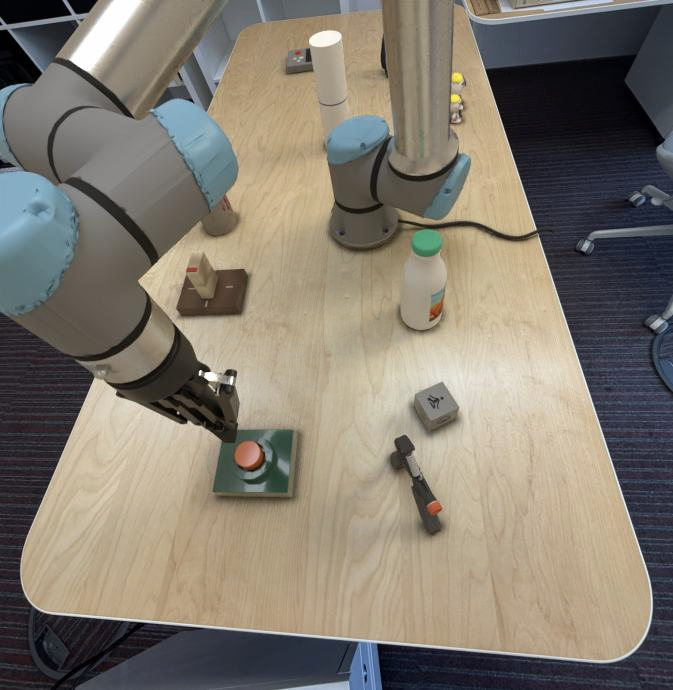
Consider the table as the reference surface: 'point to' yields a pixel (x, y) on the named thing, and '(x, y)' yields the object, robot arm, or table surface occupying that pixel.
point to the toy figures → (457, 97)
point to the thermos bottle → (219, 218)
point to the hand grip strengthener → (417, 484)
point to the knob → (202, 275)
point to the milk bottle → (423, 281)
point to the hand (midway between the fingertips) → (231, 433)
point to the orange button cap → (249, 455)
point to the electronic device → (299, 60)
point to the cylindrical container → (330, 79)
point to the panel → (215, 295)
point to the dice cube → (435, 406)
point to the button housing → (271, 473)
